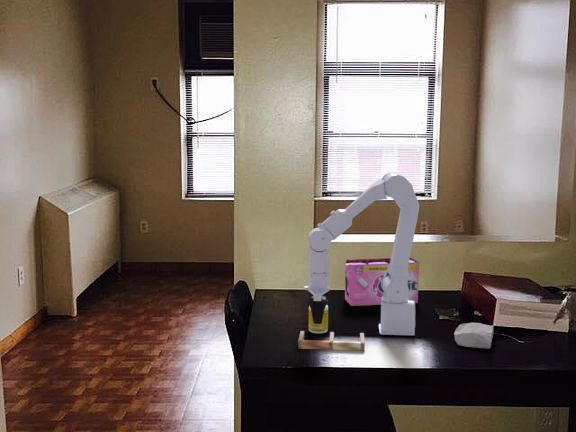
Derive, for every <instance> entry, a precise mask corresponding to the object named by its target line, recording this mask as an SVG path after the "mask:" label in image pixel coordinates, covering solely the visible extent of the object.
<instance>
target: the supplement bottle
mask: <svg viewBox="0 0 576 432" xmlns="http://www.w3.org/2000/svg"><path fill="white" fill-rule="evenodd" d="M310 298H314V296H312V297H311V296H310ZM321 298H322V299H327V298H326V297H324V296H321ZM328 329H329V306H328V304H327V305H326V307H325V309H324V314H323V320H322V323H321V324H314V322H313V317H312V312H311V308H310V306H309V305H308V331H309V332H310V333H312V334H320V335H321V334H325V333H327V332H328Z"/></svg>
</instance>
